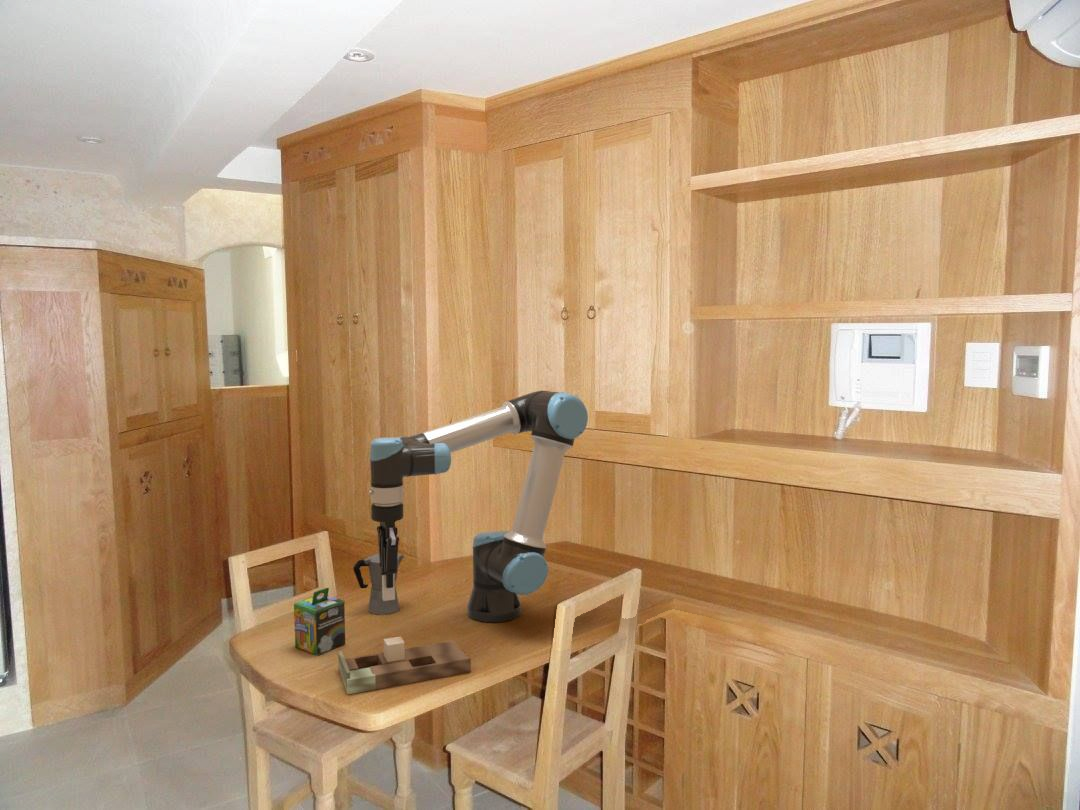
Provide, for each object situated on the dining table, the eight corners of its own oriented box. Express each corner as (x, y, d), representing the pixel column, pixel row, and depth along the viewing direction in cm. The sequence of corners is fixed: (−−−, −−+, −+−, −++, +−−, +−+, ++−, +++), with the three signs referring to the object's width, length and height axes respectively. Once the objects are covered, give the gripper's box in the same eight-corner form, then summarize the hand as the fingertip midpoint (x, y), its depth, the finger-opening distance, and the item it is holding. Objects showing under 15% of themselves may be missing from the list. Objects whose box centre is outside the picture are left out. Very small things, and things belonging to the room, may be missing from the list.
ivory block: (400, 652, 177) (400, 636, 177) (404, 659, 174) (404, 642, 173) (384, 655, 176) (383, 639, 175) (387, 662, 172) (387, 645, 172)
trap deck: (454, 650, 185) (453, 633, 184) (470, 671, 173) (470, 653, 172) (338, 670, 173) (338, 651, 173) (347, 694, 162) (347, 674, 161)
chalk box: (323, 635, 194) (322, 580, 193) (346, 644, 189) (345, 587, 187) (293, 647, 186) (291, 589, 185) (316, 656, 181) (315, 597, 180)
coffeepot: (397, 600, 221) (396, 540, 219) (412, 609, 213) (411, 547, 212) (348, 611, 212) (346, 549, 210) (361, 621, 204) (360, 556, 203)
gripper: (365, 499, 182) (367, 593, 184) (377, 510, 170) (378, 610, 172) (396, 496, 185) (397, 589, 187) (409, 507, 173) (410, 605, 175)
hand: (388, 599), depth 180 cm, fingers closed
